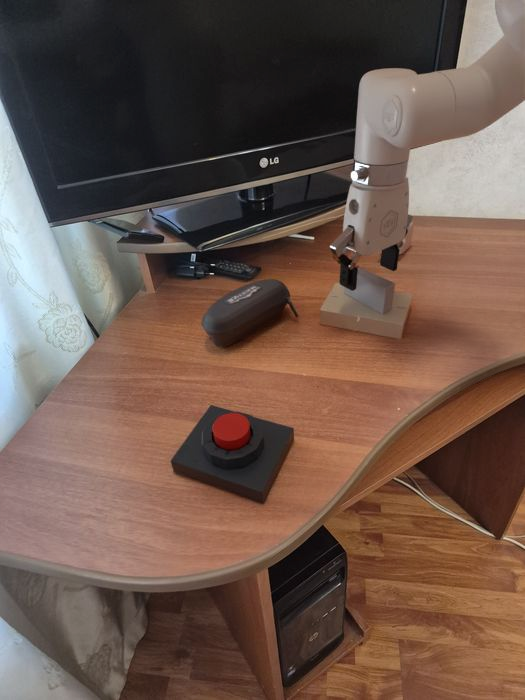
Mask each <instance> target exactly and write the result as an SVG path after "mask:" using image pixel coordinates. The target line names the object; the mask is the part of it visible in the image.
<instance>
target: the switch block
mask: <svg viewBox="0 0 525 700" xmlns="http://www.w3.org/2000/svg"><path fill="white" fill-rule="evenodd" d="M228 413H238V414H241V415H243V416H245V417H246V418H247V419H248V421H249V424H250V432H251V437H250V440H249V442H248V443H247V444H246V445H245V446H244V447H242V448H240V449H237V450H224V449H222V448H220V447H219V446H218V445H217V444H216V443H215V440H214V435H213V424H214V422H215V421H216V420H217V419H218V418H219V417H220V416H222V415H225V414H228ZM294 441H295V428H294V427H291V426H287V425H285V424H280V423H277V422H274V421H269V420H267V419H263V418H259V417H256V416H254V415H252V414H248V413H245V412H241V411H234V410H231V409H227V408H223V407H220V406H217V405H213V404H210V405H209V407H208V408H207V409H206V411H205V412H204V414H202V416H201V418H199V420H198V422H197V423H196V425H195V426H193V429H192V430H191V431H190V433H189V434H188V436H187V437H186V438H185V440H183V443H182V444H181V445H180V447H179V448H178V449H177V451H176V452H175V453H174V455H173V456H172V458H171V459H170V464H171V467H172V471H173V473H175V474H179V475H181V476H184V477H187V478H189V479H192V480H195V481H198V482H201V483H203V484H206V485H210V486H212V487H215V488H218V489H221V490H223V491H227V492H230V493H232V494H235V495H238V496H241V497H244V498H246V499H248V500H252V501H254V502H258V503H260V504H264V503H265V501H266V499H267V497H268V495H269V493H270V491H271V488H272V486H273V484H274V482H275V480H276V478H277V476H278V474H279V473H280V470H281V468H282V467H283V464H284V461H285V459H286V457H287V455H288V454H289V451H290V449H291V447H292V445H293V443H294Z"/></svg>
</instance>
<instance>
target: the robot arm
mask: <svg viewBox="0 0 525 700" xmlns="http://www.w3.org/2000/svg"><path fill="white" fill-rule="evenodd" d="M494 9H495V15H496V19H497V22H498V24H499V27H500V30H501V31H502V34H503V36H501V37H500V38H499V40H498V41H497V42H496V43H494V44H493V45H492V46H491V47H490V48H489V49H488V50H487V51H486V52H485V53H484V54H482V55H481V56H480V57H479V58H478V59H477V60H476V61H474V62H473V63H472V64H470V65H469V66H467V67H459V68H451V69H444V70H436V71H432V72H427V73H419V74H418V73H417V72H416V71H414V70H412V69H410V68H403V67H402V68H401V67H400V68H399V67H393V68H392V67H390V68H379V69H378V68H377V69H374V70H370V71H368V72H366V73H364V74H363V75H362V77H361V79H360V81H359V85H358V95H357V109H356V121H355V122H356V123H355V139H354V151H353V166H352V171H351V172H350V179H351V184H350V185H349V190H348V193H347V198H346V204H345V208H344V217H343V224H342V232H341V233H340V235H338V236H337V237H336V239H334V241H332V243H331V244H330V245H329V250H330V252H331V254H332V256H333V257H332V258H333V259H334V260H335V261H336V262H337V264H339V265H340V267H339V268H340V269H339V283H340V285H342V286H344V287H346V288H348V289H349V290H351V291H354V290H355V289H356V285H357V273H358V268H356V267H355V266H356V265H358V262H359V260H360V259H361V257H369V256H372V255H374V254H376V253H379V252H381V253H380V261H379V266H381V267H384V268H385V269H387V270H390V271H392V272H395V271H397V269H398V263H399V257H400V254H399V251H400V249H398V248H401V247H402V245H403V241H402V240H403V239H404V237H405V236H406V234H407V233H408V229H407V228H408V227H409V225H410V223H411V222H412V221H413V215H411V214H409V205H410V183H409V178H408V177H407V174H408V167H409V161H410V153H411V149H415V148H418V147H423V146H429V145H433V144H436V143H440V142H444V141H445V142H446V141H451V140H457V139H461V138H466V137H469V136H472V135H475V134H477V133H479V132H481V131H483V130H485V129H487V128H488V127H490V126H491V125H493V124H494V123H496V122H497V121H498V120H500V119H501V118H503V117H504V116H505V115H507V114H509V113H510V112H512V110H514V109H516V107H518V106H519V105H521V104H522V103H523V102H524V101H525V0H494ZM351 252H353V254H352V256H351V258H349V255H350V254H351Z"/></svg>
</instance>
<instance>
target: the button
mask: <svg viewBox="0 0 525 700" xmlns="http://www.w3.org/2000/svg"><path fill="white" fill-rule="evenodd" d="M213 435H214V440H215V443H216V444H217V445H218V446H219V447H220V448H222V449H224V450H237V449H240V448H242V447H244V446H245V445H246V444H247V443H248V442H249V440H250V437H251V432H250V424H249V421H248V419H247V418H246V417H245V416H243V415H241V414H238V413H228V414H225V415H222V416H220V417H219V418H218V419H217V420H216V421H215V422H214V424H213Z"/></svg>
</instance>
